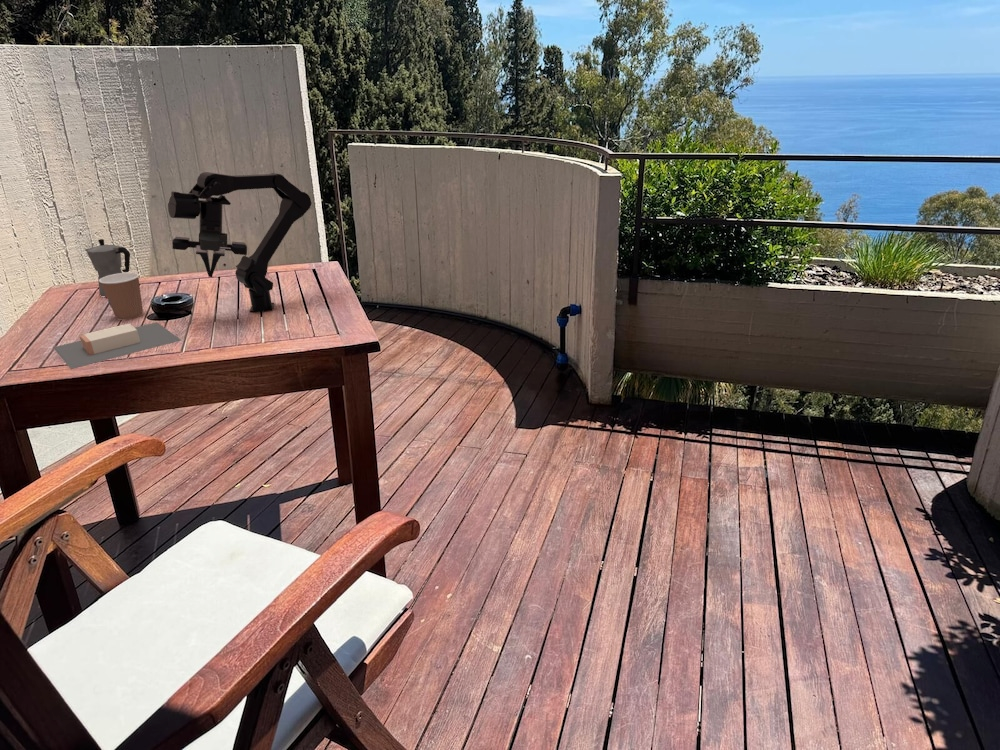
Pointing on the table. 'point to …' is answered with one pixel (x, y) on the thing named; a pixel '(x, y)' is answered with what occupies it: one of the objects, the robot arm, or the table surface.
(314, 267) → the table surface
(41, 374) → the table surface
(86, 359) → the mat
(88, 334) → the tan bar
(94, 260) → the coffeepot
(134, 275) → the coffee cup
